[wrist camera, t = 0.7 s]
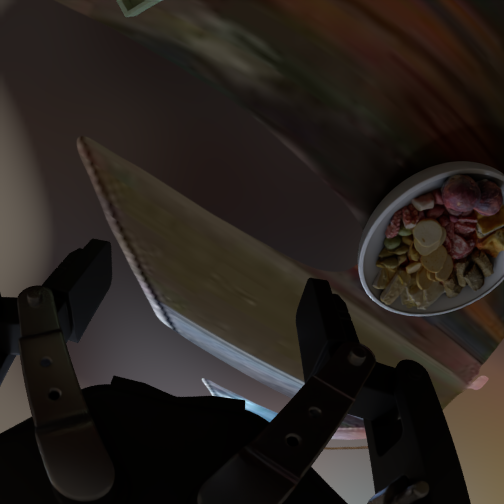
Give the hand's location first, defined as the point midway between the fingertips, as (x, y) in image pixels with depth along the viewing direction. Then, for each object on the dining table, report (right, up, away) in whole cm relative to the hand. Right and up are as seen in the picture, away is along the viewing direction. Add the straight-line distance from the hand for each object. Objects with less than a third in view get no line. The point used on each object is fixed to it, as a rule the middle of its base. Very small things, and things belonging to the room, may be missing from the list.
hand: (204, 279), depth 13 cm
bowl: (+32, +4, +32) cm, 46 cm away
